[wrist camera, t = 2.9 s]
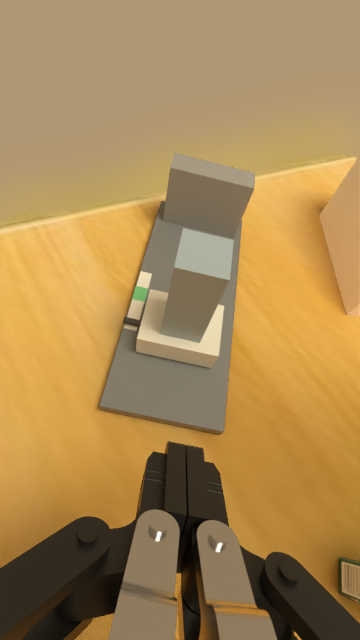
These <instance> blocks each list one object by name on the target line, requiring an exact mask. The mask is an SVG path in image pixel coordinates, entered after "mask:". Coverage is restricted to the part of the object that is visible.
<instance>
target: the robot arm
mask: <svg viewBox="0 0 360 640" xmlns="http://www.w3.org/2000/svg"><path fill="white" fill-rule="evenodd" d="M221 484H222V483H221V478H220V473H219V471H218V470H217V468H216V467H215V465H214V464H213V463H209V462H205V461H204V452H203V448H199V447H194V446H189V445H184V444H179V443H174V442H169V441H168V442H167V445H166V449H165V453H164V454H163V453H158V452H153V453H152V454H151V455H150V457H149V458H148V459H147V463H146V467H145V471H144V476H143V480H142V484H141V488H140V494H139V501H138V506H137V513H136V519H135V520H134V521H133V522H132V523H131V524H129V525H127V526H125V527H122V528H116V529H110V528H109V526H108V525H107V524H106V523H105V522H104V521H103V520H101V519H99V518H96V517H82V518H79V519H76V520H75V521H73V522H71V523H70V524H68V525H67V526H65V527H64V528H62V529H61V530H59V531H57V532H56V533H54V534H53V535H51V536H50V537H48V538H47V539H45V540H44V541H42V542H40V543H39V544H37V545H36V546H34V547H33V548H31V549H30V550H28V551H27V552H25V553H23V554H22V555H20V556H19V557H17V558H16V559H14V560H13V561H11V562H10V563H8V564H6V565H5V566H3V567H2V568H0V640H74V639H75V638H76V637H77V636H78V635H79V634H80V633H81V632H82V631H83V630H84V629H85V628H86V627H87V626H88V625H89V624H90V623H91V621H92V620H93V618H96V617H100V616H104V615H108V614H113V613H115V614H114V618H113V622H112V626H111V630H110V634H109V638H108V640H175V629H176V616H177V598H174V594H175V581H176V573H181V586H180V590H179V593H178V619H179V636H180V640H298V639H297V638H296V637H295V635H294V632H296V633H297V634H298V635H299V637H300V638H301V639H302V640H360V624H359V623H358V622H357V621H356V620H355V619H354V618H353V617H352V616H351V615H350V614H349V613H348V612H347V611H346V610H345V609H344V608H343V607H342V606H341V605H340V604H339V603H338V602H337V600H336V599H335V598H334V597H333V596H332V595H331V594H330V593H329V592H328V591H327V590H326V589H325V588H324V587H323V586H322V585H321V584H320V583H319V582H318V581H317V580H316V579H315V578H314V577H313V576H312V575H311V574H310V573H309V572H308V571H307V570H306V569H305V568H304V567H303V566H302V565H301V564H300V563H299V562H298V561H297V560H295V559H294V558H292V557H291V556H289V555H287V554H284V553H281V552H274V553H271V554H269V555H268V556H267V558H266V560H264V559H262V558H260V557H258V556H256V555H254V554H252V553H250V552H249V551H247V550H245V549H244V548H243V547H242V546H240V545H239V541H238V539H237V536H236V535H235V533H234V532H233V531H232V530H231V528H229V524H228V518H227V512H226V507H225V501H224V495H223V489H222V486H221Z"/></svg>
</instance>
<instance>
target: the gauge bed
mask: <svg viewBox="0 0 360 640" xmlns="http://www.w3.org/2000/svg"><path fill="white" fill-rule="evenodd" d="M254 182H255V173H252V172H248V171H244V170H240V169H236V168H233V167H229V166H224V165H221V164H217V163H213V162H208V161H204V160H201V159H197V158H193V157H189V156H185V155H181V154H177V153H175V155H174V158H173V161H172V164H171V169H170V174H169V182H168V188H167V195H166V202H165V201H161V203H160V207H159V210H158V213H157V217H156V220H155V223H154V227H153V230H152V233H151V237H150V240H149V243H148V246H147V250H146V253H145V256H144V260H143V263H142V266H141V270H140V273H139V276H138V280H137V283H136V286H135V290H134V293H133V296H132V299H131V303H130V306H129V309H128V313H127V316H126V317H128V318H132V319H137V320H141V321H142V318H143V314H144V310H145V306H146V303H147V299H148V295H149V292H150V289H153V290H157V291H162V292H166V293H169V289H170V284H171V279H172V275H173V270H174V266H175V261H176V257H177V252H178V248H179V244H180V239H181V235H182V231H183V228H185V229H189V230H194V231H198V232H202V233H206V234H210V235H214V236H219V237H223V238H227V239H231V240H234V243H233V253H232V263H231V273H230V281H229V283H228V285H227V287H226V289H225V291H224V293H223V295H222V298H221V300H220V302H219V305H223V306H224V312H223V322H222V331H221V340H220V350H219V357H218V359H217V360H216V362H215V363H214V365H213V366H212V368H208V367H203V366H199V365H194V364H189V363H185V362H180V361H176V360H171V359H166V358H162V357H157V356H153V355H148V354H144V353H139V352H136V343H137V336H138V332H139V329H140V327H137V326H132V325H128V324H124V326H123V329H122V333H121V336H120V339H119V343H118V346H117V349H116V352H115V356H114V359H113V362H112V366H111V369H110V372H109V376H108V379H107V382H106V386H105V389H104V392H103V396H102V399H101V402H100V405H99V406H100V410H103V411H108V412H113V413H117V414H122V415H127V416H132V417H137V418H142V419H146V420H151V421H156V422H161V423H166V424H170V425H175V426H180V427H185V428H190V429H195V430H199V431H204V432H209V433H214V434H219V435H220V434H221V433H223V432H224V425H225V414H226V402H227V390H228V379H229V367H230V355H231V344H232V332H233V320H234V309H235V297H236V285H237V274H238V262H239V251H240V239H241V227H242V220H241V219H242V216H243V214H244V211H245V209H246V207H247V204H248V202H249V199H250V197H251V195H252V192H253V190H254Z"/></svg>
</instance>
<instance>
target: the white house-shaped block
mask: <svg viewBox="0 0 360 640" xmlns="http://www.w3.org/2000/svg"><path fill="white" fill-rule="evenodd" d="M319 218H320V221H321V225H322V228H323V232H324V236H325V239H326V243H327V246H328V250H329V254H330V257H331V261H332V264H333V268H334V271H335V275H336V279H337V282H338V286H339V289H340V293H341V297H342V300H343V304H344V307H345V311H346V315H350V316H358V317H360V156H359V157H358V159H357V160H356V162H355V163H354V165H353V166H352V168H351V169H350V171H349V172H348V174H347V175H346V176H345V178H344V179H343V181H342V182H341V184H340V185H339V187H338V188H337V190H336V191H335V193H334V194H333V196H332V197H331V199H330V200H329V202H328V203H327V204H326V206H325V207H324V209H323V210H322V212H321V213H320V215H319Z"/></svg>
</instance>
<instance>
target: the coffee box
mask: <svg viewBox="0 0 360 640" xmlns="http://www.w3.org/2000/svg"><path fill="white" fill-rule="evenodd" d="M339 594H340V595H343V596H344V597H347V598H349V599H351V600H353V601H356V602H358V603H360V562H359V561H354V560H350V559H345V558H339Z"/></svg>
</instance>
